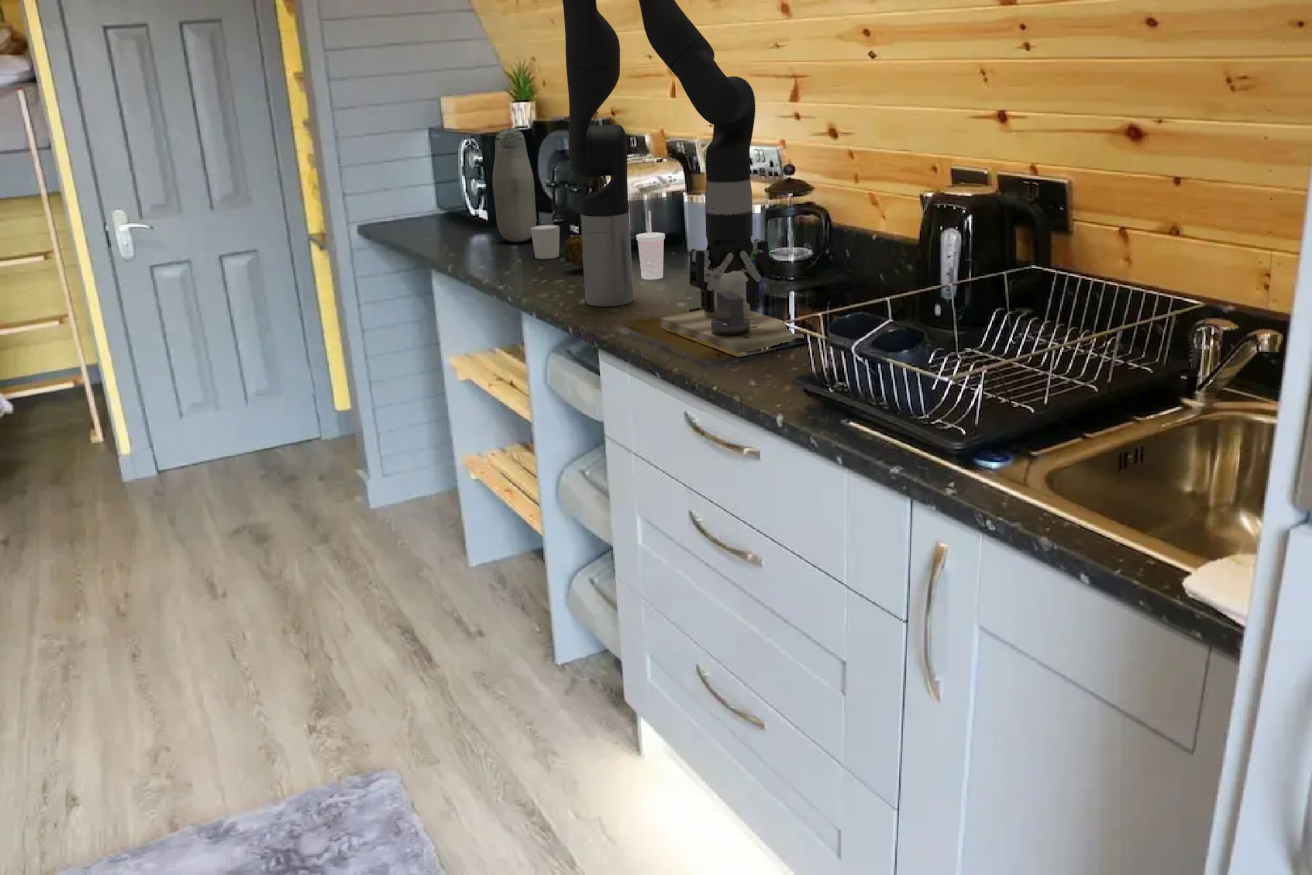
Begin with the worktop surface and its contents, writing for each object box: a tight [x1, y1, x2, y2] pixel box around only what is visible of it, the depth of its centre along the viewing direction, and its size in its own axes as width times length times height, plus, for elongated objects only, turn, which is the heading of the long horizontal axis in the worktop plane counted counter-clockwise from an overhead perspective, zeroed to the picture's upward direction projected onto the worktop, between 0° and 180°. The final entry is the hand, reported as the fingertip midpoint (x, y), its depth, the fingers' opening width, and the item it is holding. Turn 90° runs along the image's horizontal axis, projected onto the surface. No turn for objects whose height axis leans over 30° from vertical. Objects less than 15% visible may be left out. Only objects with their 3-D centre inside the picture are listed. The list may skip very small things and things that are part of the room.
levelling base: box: [659, 267, 804, 353], centre depth 188 cm, size 24×15×11 cm, turn 31°
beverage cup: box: [635, 210, 666, 280], centre depth 234 cm, size 6×6×14 cm
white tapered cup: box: [530, 224, 560, 260], centre depth 262 cm, size 7×7×7 cm
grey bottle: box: [492, 127, 537, 243], centre depth 279 cm, size 10×10×28 cm
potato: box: [563, 234, 583, 267], centre depth 246 cm, size 8×13×8 cm, turn 112°
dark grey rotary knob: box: [711, 291, 761, 335], centre depth 183 cm, size 8×6×6 cm
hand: (730, 307), depth 183 cm, fingers open, 8 cm apart
